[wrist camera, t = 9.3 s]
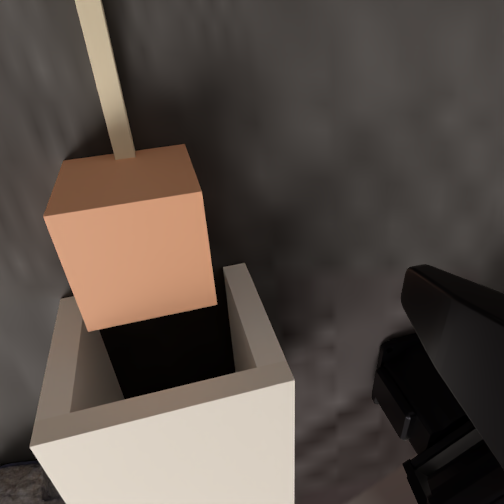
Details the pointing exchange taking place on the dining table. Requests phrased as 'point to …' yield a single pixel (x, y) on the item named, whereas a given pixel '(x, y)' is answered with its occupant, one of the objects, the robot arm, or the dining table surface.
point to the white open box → (169, 420)
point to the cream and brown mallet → (128, 214)
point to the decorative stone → (27, 485)
